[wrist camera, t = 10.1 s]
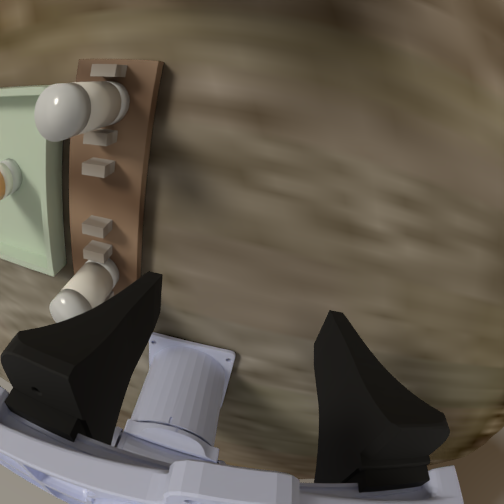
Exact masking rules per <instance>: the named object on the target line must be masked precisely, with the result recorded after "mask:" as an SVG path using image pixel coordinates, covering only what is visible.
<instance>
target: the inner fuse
mask: <svg viewBox="0 0 504 504" xmlns="http://www.w3.org/2000/svg"><path fill="white" fill-rule="evenodd" d="M118 280H119V270H118V268H117V266H116V264H115V263H114V262H113V261H112V260H111V259H110V258H108V260H107V261H106V262H105V263H104V264H103V263H99V262H95V261H91V260H88V261H87V262H86V263H85V264H84V265H83V266H82V267H81V268H80V269H79V270H78V272H77V273H76V274H75V275H74V276H73V277H72V278H71V279H70V281H69V282H68V283H67V284H66V285H65V286H64V288H63V289H62V290H61V291H60V292H59V293H58V295H57V296H56V297H55V298H54V299H53V300H52V302H51V303H50V313H51V315H52V317H53V319H54V320H55V322H56V323H58V322H62V321H64V320H67V319H70V318H72V317H75V316H77V315H80V314H82V313H84V312H86V311H88V310H90V309H93V308H94V307H96V306H98V305H100V304H102V303H103V302H104V301H105V299H106V298H107V296H108V295H109V293H110V292H111V291H112V289H113V288H114V286H115V285H116V283H117V282H118Z"/></svg>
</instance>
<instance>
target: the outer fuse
mask: <svg viewBox="0 0 504 504" xmlns="http://www.w3.org/2000/svg"><path fill="white" fill-rule="evenodd" d="M129 103H130V99H129V94H128V91H127V89H126V88H125V87H124V86H123V85H122V84H121V83H119V82H116V81H91V82H73V83H60V84H53V85H51V86H49V87H47V88H46V89H45V90H44V91H43V92H42V93H41V94H40V96H39V98H38V100H37V102H36V106H35V112H34V118H35V124H36V127H37V129H38V131H39V133H40V134H41V135H42V136H43V137H44V138H45V139H46V140H48V141H52V142H59V141H62V140H65V139H68V138H71V137H73V136H76V135H79V134H83V133H86V132H89V131H92V130H95V129H98V128H102V127H105V126H109V125H112V124H115V123H117V122H119V121H120V120H122V119H123V118H124V116H125V115H126V113H127V111H128V108H129Z"/></svg>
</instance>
